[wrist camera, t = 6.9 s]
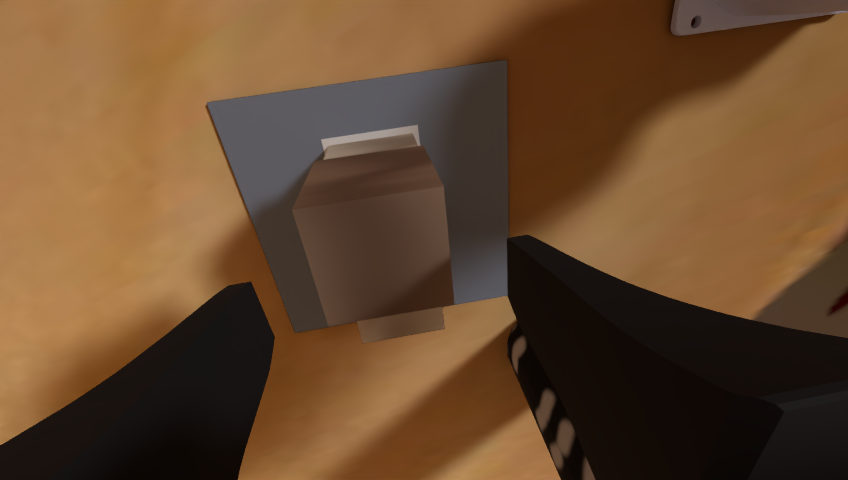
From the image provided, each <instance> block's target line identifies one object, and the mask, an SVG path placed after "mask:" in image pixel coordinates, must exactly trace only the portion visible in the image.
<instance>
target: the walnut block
mask: <svg viewBox="0 0 848 480" xmlns="http://www.w3.org/2000/svg"><path fill="white" fill-rule="evenodd" d="M292 212H293V215H294V218H295V221H296V224H297V228H298V231H299V234H300V237H301V240H302V243H303V247H304V250H305V253H306V256H307V259H308V263H309V266H310V269H311V272H312V275H313V279H314V282H315V285H316V288H317V291H318V294H319V298H320V301H321V304H322V307H323V310H324V314H325V317H326V320H327V323H328V326H333V325H339V324H345V323H351V322H357V321H362V320H368V319H374V318H380V317H386V316H392V315H397V314H403V313H409V312H415V311H421V310H426V309H432V308H438V307H444V306H450V305H455V303H454V292H453V281H452V270H451V260H450V249H449V238H448V227H447V217H446V206H445V195H444V186H443V184H442V182H441V180H440V178H439V176H438V174H437V172H436V170H435V168H434V166H433V164H432V162H431V160H430V158H429V156H428V154H427V152H426V150H425V148H424V146H423V145H421V146H414V147H407V148H401V149H394V150H387V151H380V152H373V153H366V154H360V155H353V156H346V157H339V158H332V159H326V160H319V161H314V163H313V165H312V167H311V169H310V172H309V174H308V176H307V178H306V180H305V182H304V185H303V187H302V189H301V191H300V193H299V195H298V198H297V200H296V202H295V204H294V206H293V208H292Z"/></svg>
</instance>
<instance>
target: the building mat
mask: <svg viewBox="0 0 848 480" xmlns="http://www.w3.org/2000/svg"><path fill="white" fill-rule="evenodd" d="M207 105H208V108H209V110H210V113H211V116H212V118H213V121H214V123H215V126H216V129H217V131H218V134H219V136H220V139H221V142H222V144H223V147H224V149H225V152H226V155H227V157H228V160H229V162H230V165H231V168H232V170H233V173H234V175H235V178H236V181H237V183H238V186H239V188H240V191H241V194H242V196H243V199H244V201H245V204H246V207H247V209H248V212H249V214H250V217H251V220H252V222H253V225H254V227H255V230H256V233H257V235H258V238H259V240H260V243H261V246H262V248H263V251H264V253H265V256H266V259H267V261H268V264H269V266H270V269H271V272H272V274H273V277H274V279H275V282H276V285H277V287H278V290H279V292H280V295H281V298H282V300H283V303H284V305H285V308H286V311H287V313H288V316H289V318H290V321H291V324H292V326H293V329H294V331H295V333H298V332H303V331H309V330H315V329H320V328H326V327H332V326H328V323H327V320H326V317H325V314H324V310H323V307H322V304H321V301H320V298H319V294H318V291H317V288H316V285H315V282H314V279H313V275H312V272H311V269H310V266H309V263H308V259H307V256H306V253H305V250H304V247H303V243H302V240H301V237H300V234H299V231H298V228H297V224H296V221H295V218H294V215H293V212H292V208H293V206H294V204H295V202H296V200H297V198H298V195H299V193H300V191H301V189H302V187H303V185H304V182H305V180H306V178H307V176H308V174H309V172H310V169H311V167H312V165H313V163H314V161H319V160H323V159H324V157H325V154H326V152H327V149H328V147H329V146H330V145H336V144H343V143H350V142H356V141H363V140H370V139H376V138H383V137H389V136H396V135H403V134H409V133H413V135H414V137H415V140H416V142H417V144H418V146H421V145H423V146H424V148H425V150H426V152H427V154H428V156H429V158H430V160H431V162H432V164H433V166H434V168H435V170H436V172H437V174H438V176H439V178H440V180H441V182H442V184H443V186H444V195H445V206H446V217H447V227H448V238H449V249H450V260H451V270H452V281H453V292H454V303H455V305H456V304H462V303H468V302H473V301H479V300H485V299H490V298H496V297H502V296H507V295H508V288H507V238H509V206H508V100H507V60H501V61H494V62H487V63H480V64H473V65H466V66H459V67H452V68H445V69H438V70H431V71H424V72H417V73H410V74H403V75H396V76H389V77H382V78H375V79H368V80H361V81H354V82H347V83H340V84H333V85H326V86H319V87H312V88H305V89H298V90H291V91H284V92H277V93H270V94H263V95H256V96H249V97H241V98H234V99H227V100H220V101H213V102H208V103H207ZM450 306H451V305H450ZM444 307H445V306H444ZM351 323H354V322H351ZM345 324H349V323H345ZM339 325H343V324H339ZM333 326H337V325H333Z"/></svg>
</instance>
